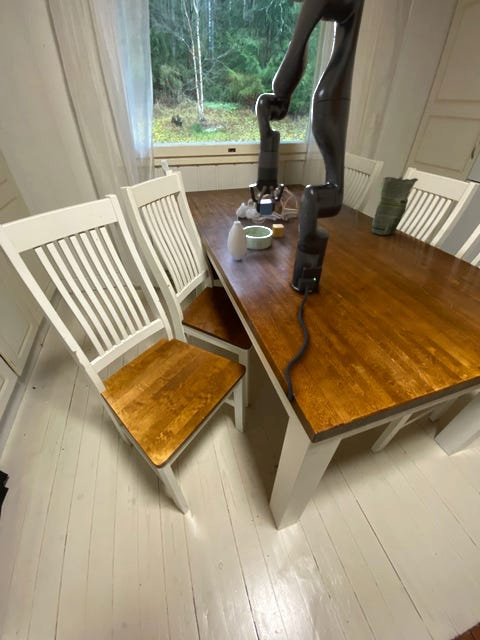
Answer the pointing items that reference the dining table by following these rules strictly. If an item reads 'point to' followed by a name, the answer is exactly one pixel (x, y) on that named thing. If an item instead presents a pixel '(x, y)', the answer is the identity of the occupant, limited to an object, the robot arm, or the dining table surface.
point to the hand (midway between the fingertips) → (265, 212)
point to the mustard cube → (277, 230)
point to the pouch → (391, 204)
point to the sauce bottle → (237, 241)
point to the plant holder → (279, 207)
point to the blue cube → (266, 207)
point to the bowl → (258, 237)
